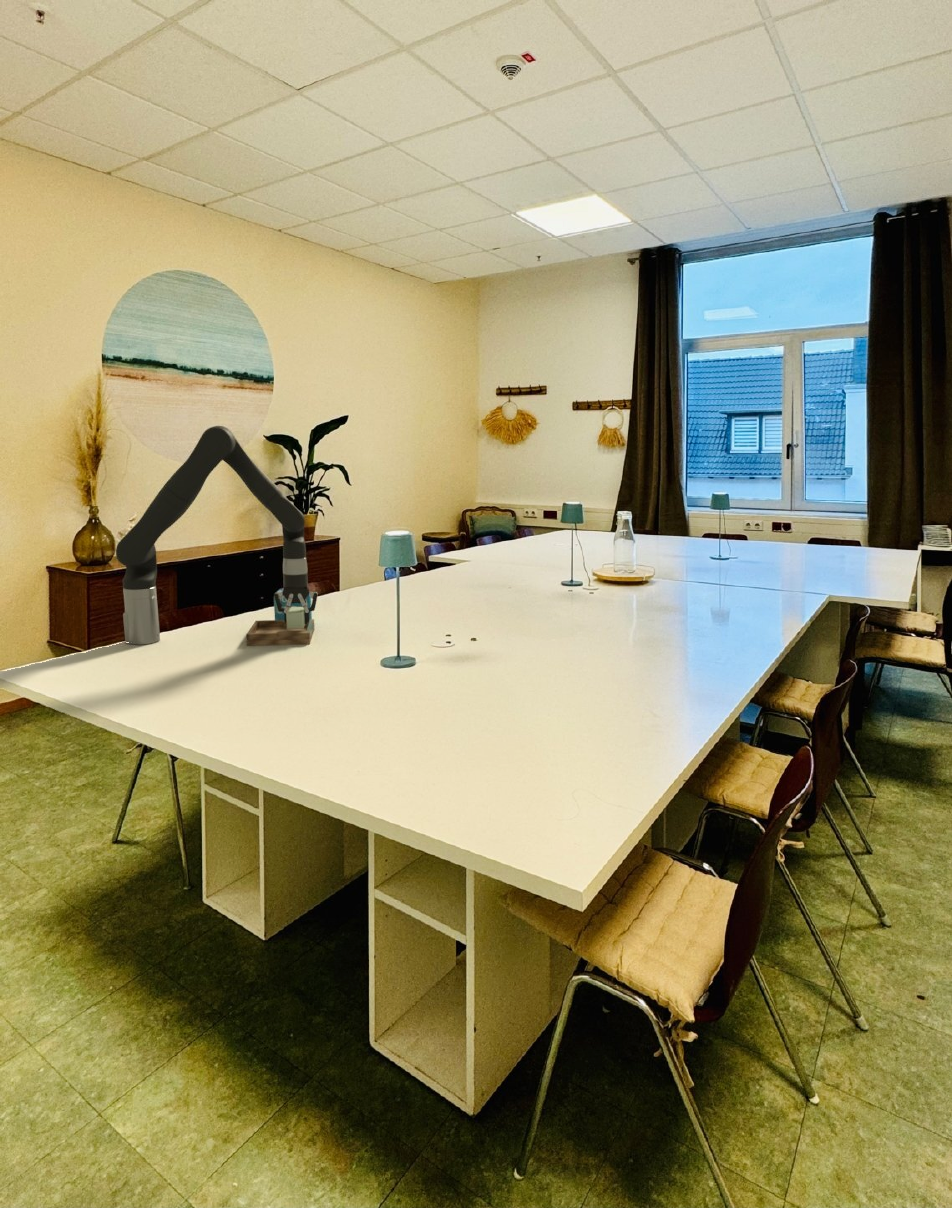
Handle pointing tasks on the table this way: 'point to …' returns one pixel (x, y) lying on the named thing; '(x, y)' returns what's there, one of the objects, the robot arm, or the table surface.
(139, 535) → the robot arm
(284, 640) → the shallow wooden tray
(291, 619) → the panel block
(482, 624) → the table surface
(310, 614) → the data package
